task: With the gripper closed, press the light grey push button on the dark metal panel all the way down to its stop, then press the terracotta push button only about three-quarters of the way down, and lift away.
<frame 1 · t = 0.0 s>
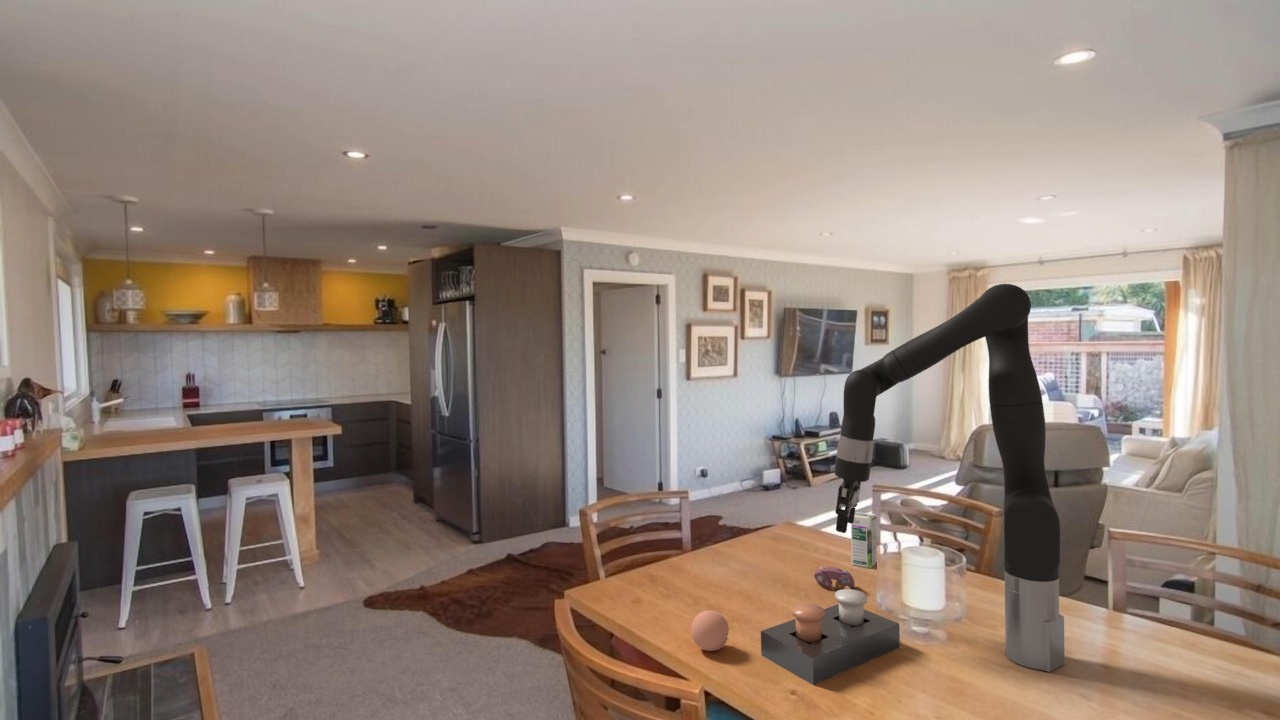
hand: (844, 526, 142), 22 cm above the table, fingers open, 8 cm apart
toy ball: (710, 650, 132), on the table
video game controller: (834, 588, 165), on the table
grey button: (851, 607, 134), point 7 cm above the table, slide at 0.0 cm
syrup box: (864, 564, 182), on the table
terracotta button: (808, 623, 127), point 7 cm above the table, slide at 0.0 cm
button panel: (831, 651, 130), on the table
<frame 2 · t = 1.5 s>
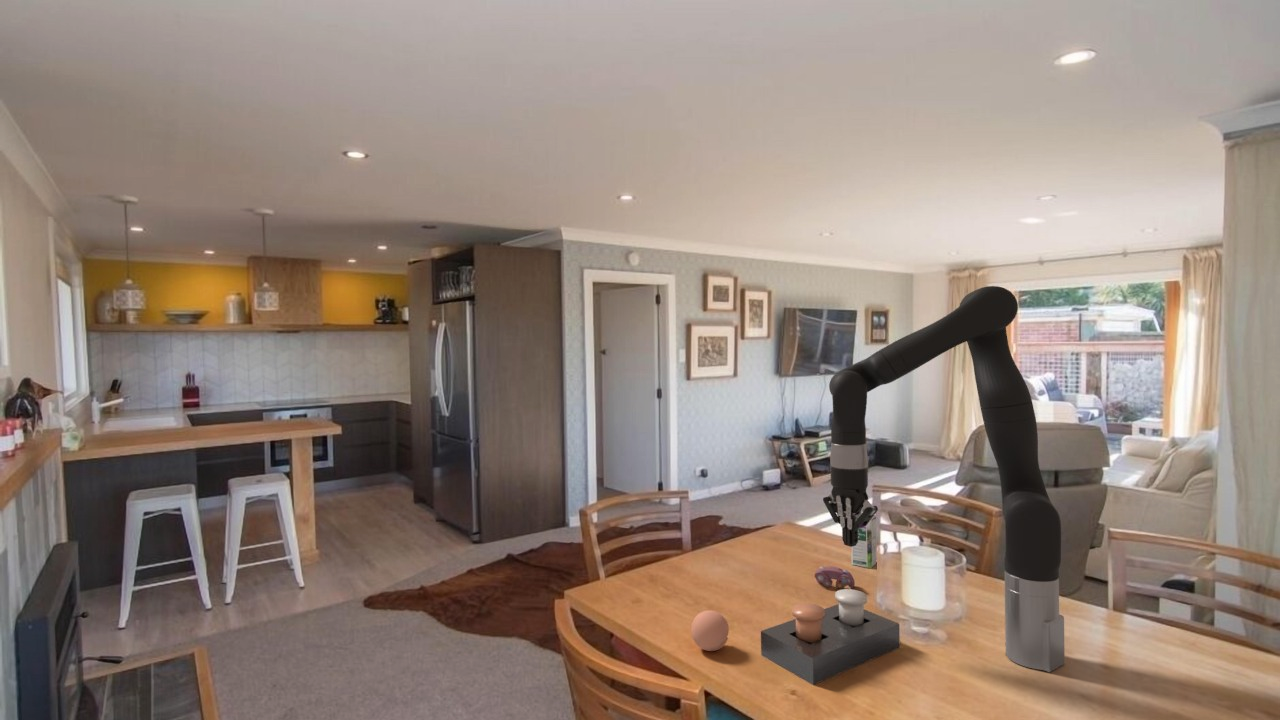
hand: (850, 545, 134), 21 cm above the table, fingers closed
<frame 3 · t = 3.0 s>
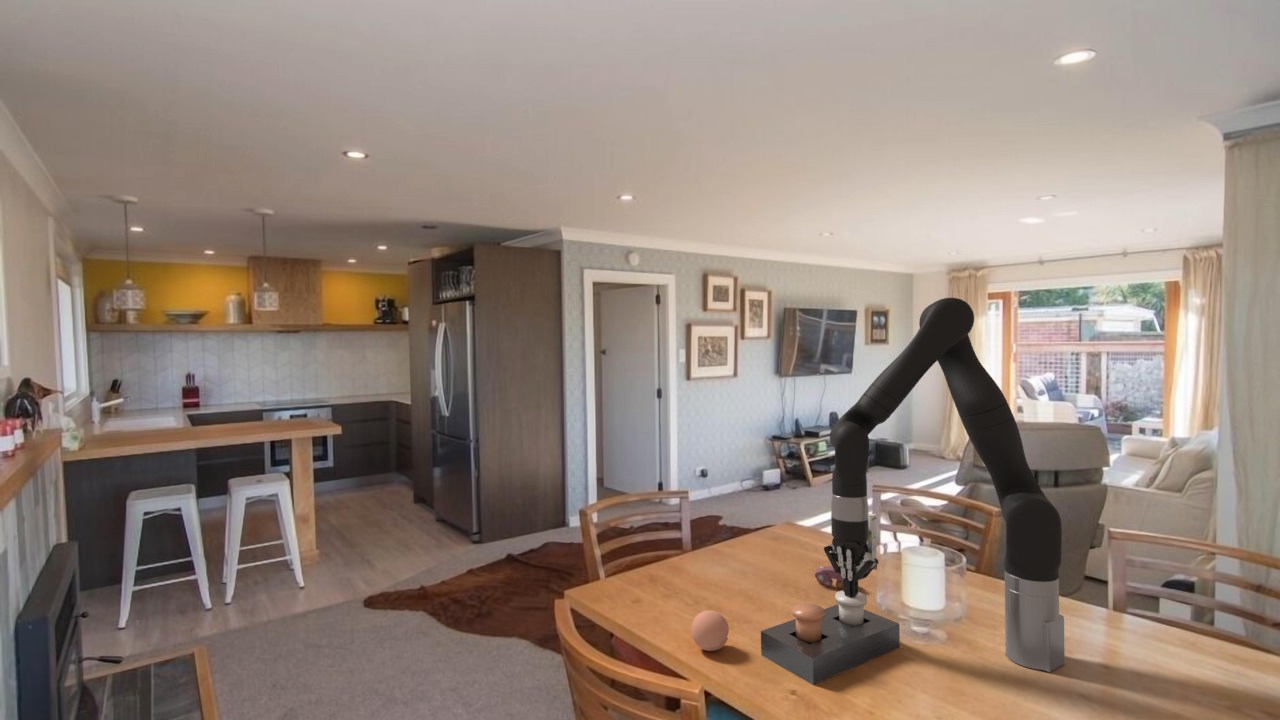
hand: (850, 595, 134), 10 cm above the table, fingers closed
grey button: (851, 609, 134), point 7 cm above the table, slide at 0.3 cm, touching gripper
everything else where it was.
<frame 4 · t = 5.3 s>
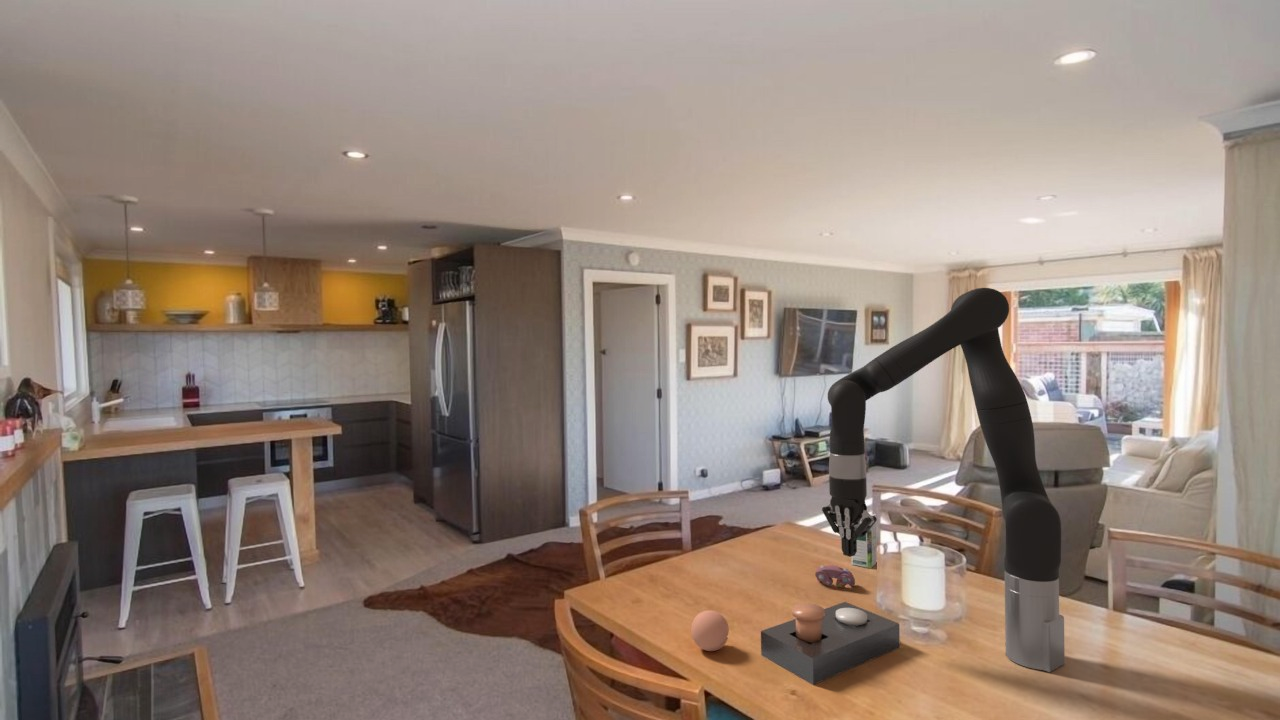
hand: (849, 555, 133), 19 cm above the table, fingers closed
grey button: (851, 626, 134), point 3 cm above the table, slide at 4.1 cm
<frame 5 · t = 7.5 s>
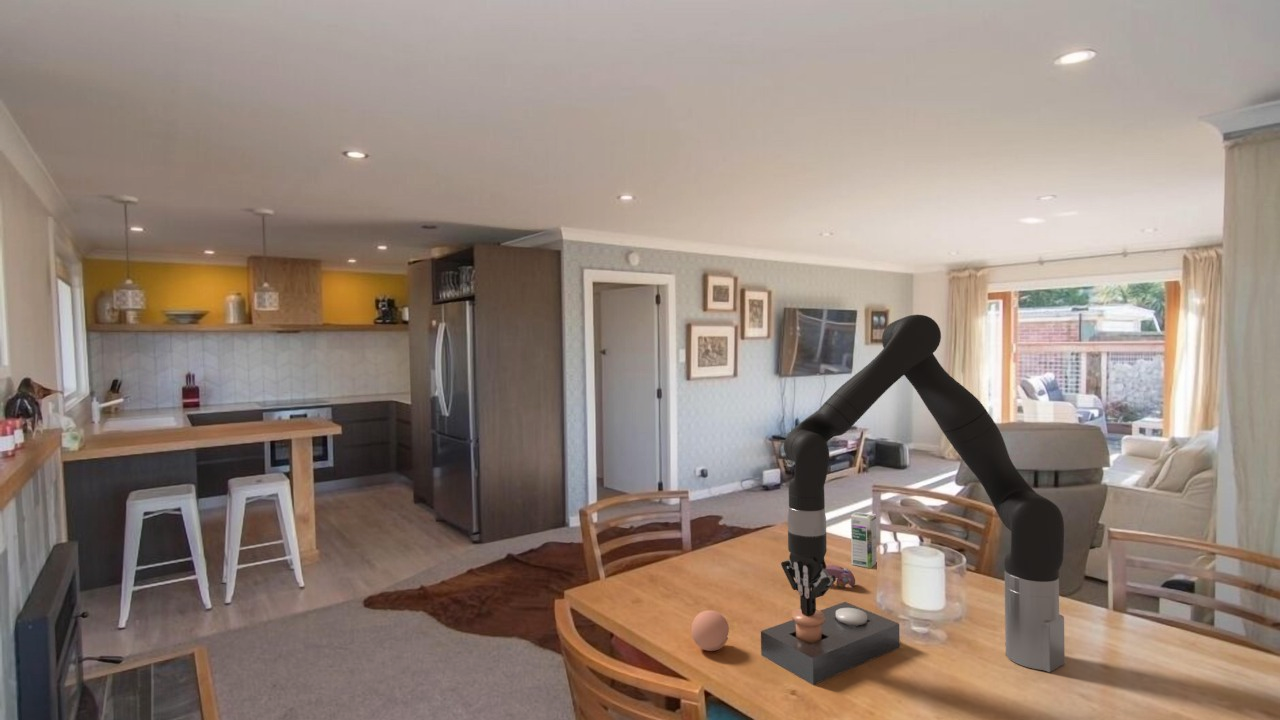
hand: (808, 614, 127), 9 cm above the table, fingers closed
terracotta button: (808, 628, 127), point 6 cm above the table, slide at 1.0 cm, touching gripper
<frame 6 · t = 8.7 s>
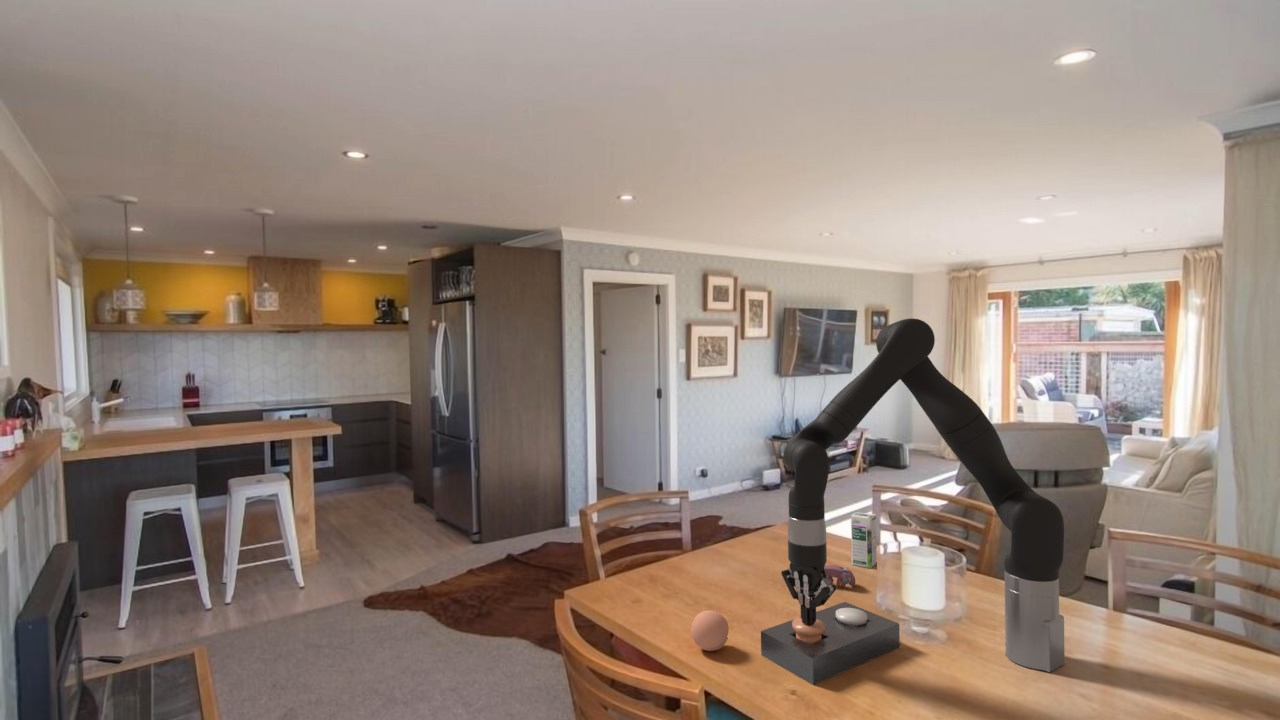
hand: (808, 623, 127), 7 cm above the table, fingers closed
terracotta button: (808, 637, 127), point 5 cm above the table, slide at 2.9 cm
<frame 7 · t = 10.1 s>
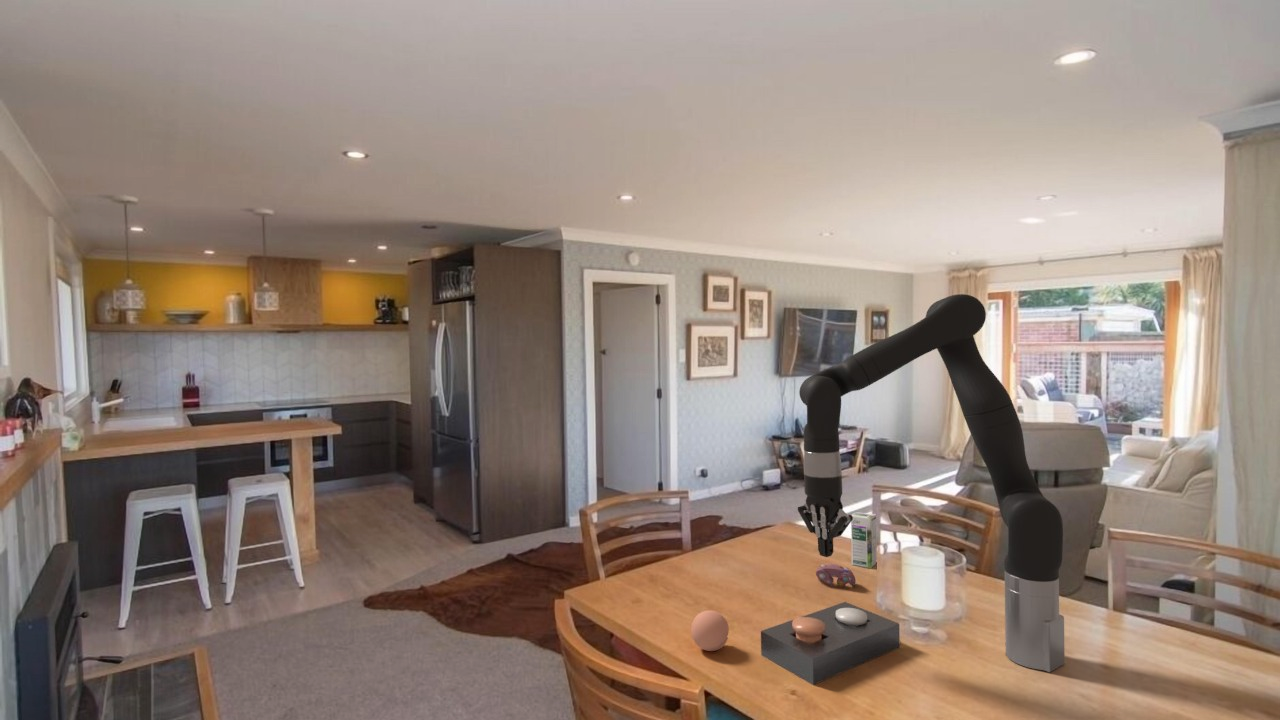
hand: (825, 555, 130), 20 cm above the table, fingers closed
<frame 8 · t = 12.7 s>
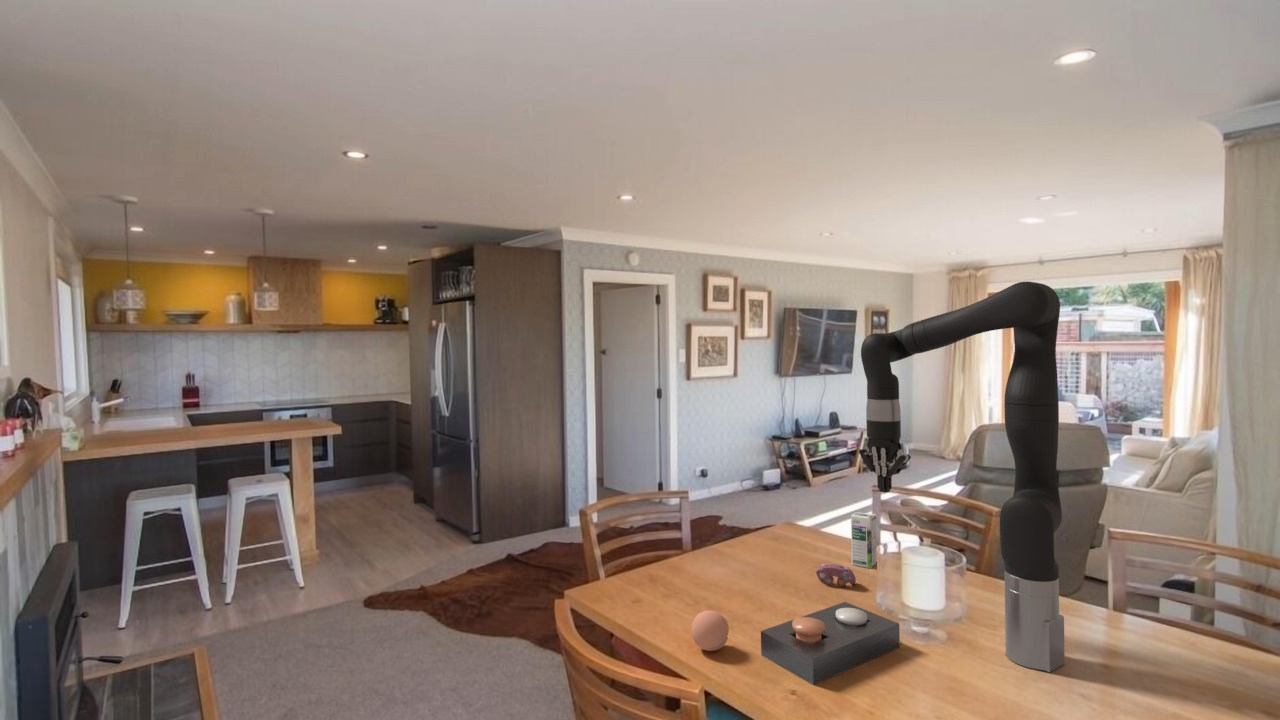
hand: (884, 491, 147), 29 cm above the table, fingers closed
at the end: grey button slide at 4.1 cm; terracotta button slide at 2.9 cm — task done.
